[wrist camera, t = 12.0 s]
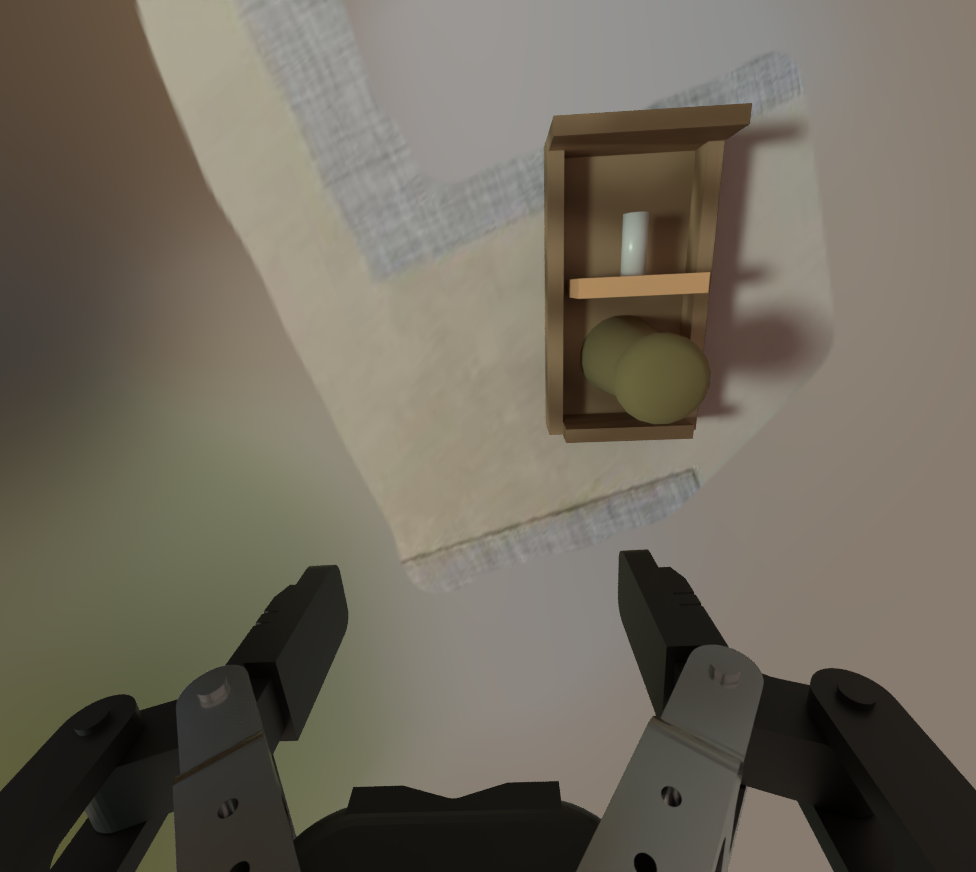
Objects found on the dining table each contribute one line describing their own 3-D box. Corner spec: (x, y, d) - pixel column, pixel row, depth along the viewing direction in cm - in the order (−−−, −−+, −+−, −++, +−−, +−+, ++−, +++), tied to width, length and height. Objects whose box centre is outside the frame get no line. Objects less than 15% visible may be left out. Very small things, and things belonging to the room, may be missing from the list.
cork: (655, 306, 33) (725, 315, 23) (663, 385, 35) (731, 427, 25) (574, 324, 34) (606, 341, 24) (586, 401, 36) (621, 448, 25)
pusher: (567, 222, 32) (579, 210, 27) (684, 216, 31) (717, 203, 27) (567, 297, 33) (578, 298, 28) (678, 291, 33) (708, 292, 28)
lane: (544, 146, 31) (553, 115, 26) (705, 137, 31) (752, 103, 25) (545, 423, 38) (554, 448, 32) (680, 418, 37) (713, 442, 31)
